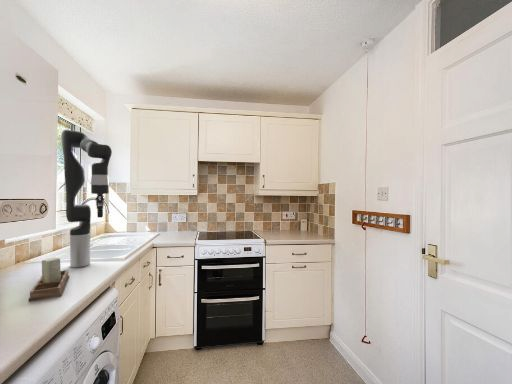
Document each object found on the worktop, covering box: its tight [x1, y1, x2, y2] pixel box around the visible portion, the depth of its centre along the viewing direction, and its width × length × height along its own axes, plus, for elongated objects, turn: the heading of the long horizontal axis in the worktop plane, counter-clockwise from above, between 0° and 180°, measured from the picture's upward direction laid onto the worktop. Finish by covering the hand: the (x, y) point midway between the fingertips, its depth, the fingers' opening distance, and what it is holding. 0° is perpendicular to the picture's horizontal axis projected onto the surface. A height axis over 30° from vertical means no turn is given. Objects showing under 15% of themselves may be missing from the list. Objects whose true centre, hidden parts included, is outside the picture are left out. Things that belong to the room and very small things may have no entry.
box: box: [41, 257, 62, 283], centre depth 113 cm, size 5×4×11 cm
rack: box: [28, 269, 70, 302], centre depth 113 cm, size 26×10×4 cm, turn 29°
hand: (100, 216), depth 134 cm, fingers open, 8 cm apart
